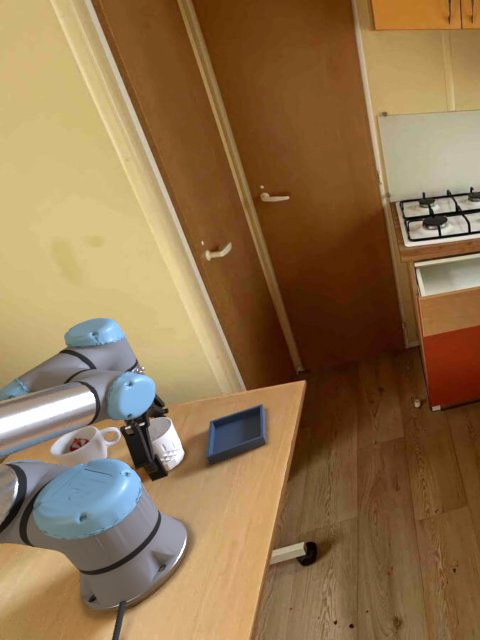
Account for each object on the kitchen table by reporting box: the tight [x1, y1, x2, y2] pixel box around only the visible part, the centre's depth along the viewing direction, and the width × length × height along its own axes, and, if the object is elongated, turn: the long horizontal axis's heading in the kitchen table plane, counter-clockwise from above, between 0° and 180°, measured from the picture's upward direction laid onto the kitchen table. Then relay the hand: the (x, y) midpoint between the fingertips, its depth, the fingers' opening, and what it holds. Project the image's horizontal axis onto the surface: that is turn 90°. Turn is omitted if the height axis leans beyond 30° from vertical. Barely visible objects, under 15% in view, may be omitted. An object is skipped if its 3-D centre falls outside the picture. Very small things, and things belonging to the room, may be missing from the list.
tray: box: [205, 403, 267, 465], centre depth 103 cm, size 12×12×2 cm
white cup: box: [139, 416, 185, 472], centre depth 95 cm, size 8×8×10 cm
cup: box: [49, 425, 122, 467], centre depth 96 cm, size 11×8×8 cm
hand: (164, 456), depth 97 cm, fingers open, 11 cm apart
